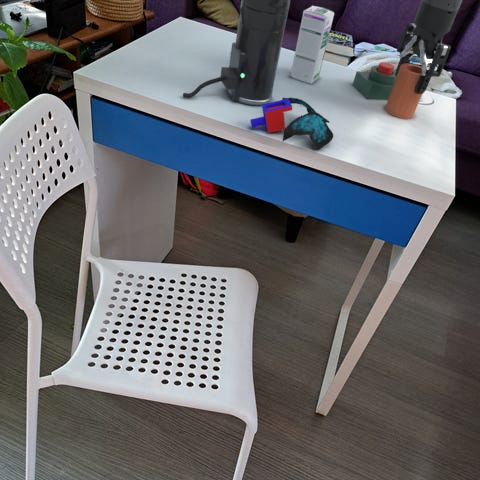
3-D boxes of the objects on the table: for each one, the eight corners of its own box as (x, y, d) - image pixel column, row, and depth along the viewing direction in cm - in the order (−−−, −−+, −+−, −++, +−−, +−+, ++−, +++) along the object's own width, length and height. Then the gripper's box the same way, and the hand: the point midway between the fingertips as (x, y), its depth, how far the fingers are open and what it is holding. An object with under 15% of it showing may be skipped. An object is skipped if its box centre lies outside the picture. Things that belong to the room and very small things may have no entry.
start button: (381, 75, 117) (383, 67, 116) (374, 69, 119) (376, 61, 118) (394, 76, 118) (397, 68, 117) (387, 70, 120) (389, 62, 119)
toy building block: (290, 119, 99) (251, 128, 99) (288, 98, 96) (247, 107, 96) (294, 127, 97) (254, 136, 97) (292, 105, 94) (250, 115, 94)
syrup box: (311, 84, 119) (328, 16, 108) (288, 77, 120) (303, 8, 109) (318, 77, 123) (336, 11, 112) (296, 70, 124) (311, 4, 113)
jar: (393, 118, 112) (410, 74, 105) (380, 105, 116) (395, 62, 110) (418, 119, 114) (436, 76, 108) (403, 106, 118) (420, 64, 112)
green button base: (367, 98, 118) (374, 77, 114) (352, 84, 123) (359, 63, 119) (402, 100, 121) (410, 78, 118) (387, 86, 126) (394, 65, 123)
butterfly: (339, 145, 92) (295, 115, 88) (322, 166, 95) (279, 139, 92) (331, 107, 104) (293, 80, 100) (316, 127, 107) (278, 101, 104)
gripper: (407, -11, 103) (379, 71, 114) (445, 12, 94) (410, 98, 106) (436, -7, 105) (406, 72, 117) (476, 15, 96) (439, 99, 108)
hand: (408, 84), depth 111 cm, fingers open, 8 cm apart
